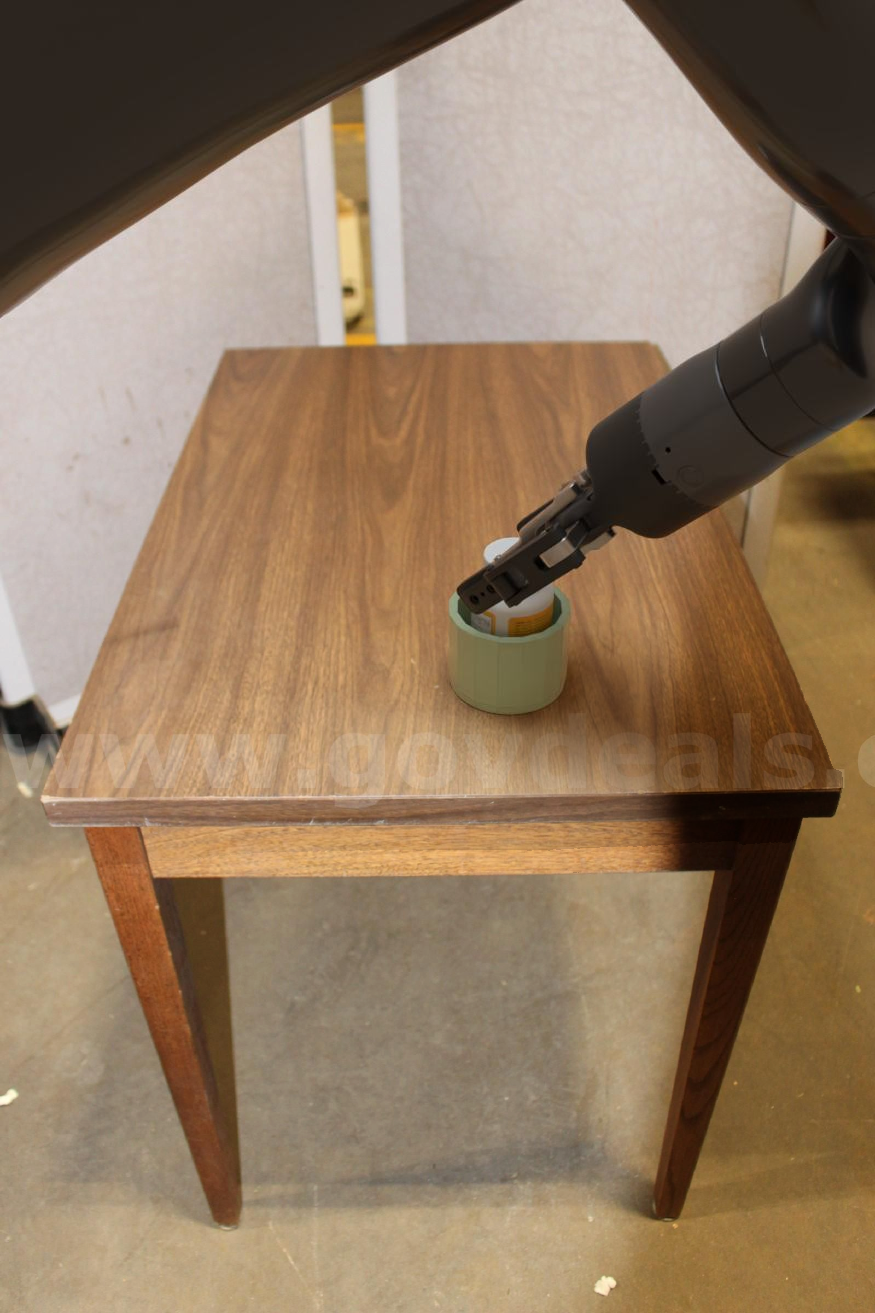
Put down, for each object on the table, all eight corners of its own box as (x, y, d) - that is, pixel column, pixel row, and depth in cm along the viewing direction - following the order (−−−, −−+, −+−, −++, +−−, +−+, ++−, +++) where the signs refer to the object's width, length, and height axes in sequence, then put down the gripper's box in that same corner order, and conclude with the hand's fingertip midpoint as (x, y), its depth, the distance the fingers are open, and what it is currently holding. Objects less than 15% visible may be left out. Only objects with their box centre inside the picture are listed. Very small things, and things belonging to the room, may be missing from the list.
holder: (476, 727, 70) (477, 654, 66) (432, 658, 76) (431, 587, 72) (585, 697, 72) (592, 625, 68) (534, 632, 78) (538, 563, 74)
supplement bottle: (460, 687, 72) (460, 567, 66) (483, 642, 76) (485, 525, 70) (537, 703, 71) (544, 582, 65) (557, 656, 75) (565, 538, 69)
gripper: (692, 341, 62) (509, 475, 73) (600, 438, 52) (405, 576, 63) (768, 443, 63) (576, 560, 74) (691, 557, 53) (483, 672, 65)
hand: (497, 567), depth 69 cm, fingers open, 8 cm apart
